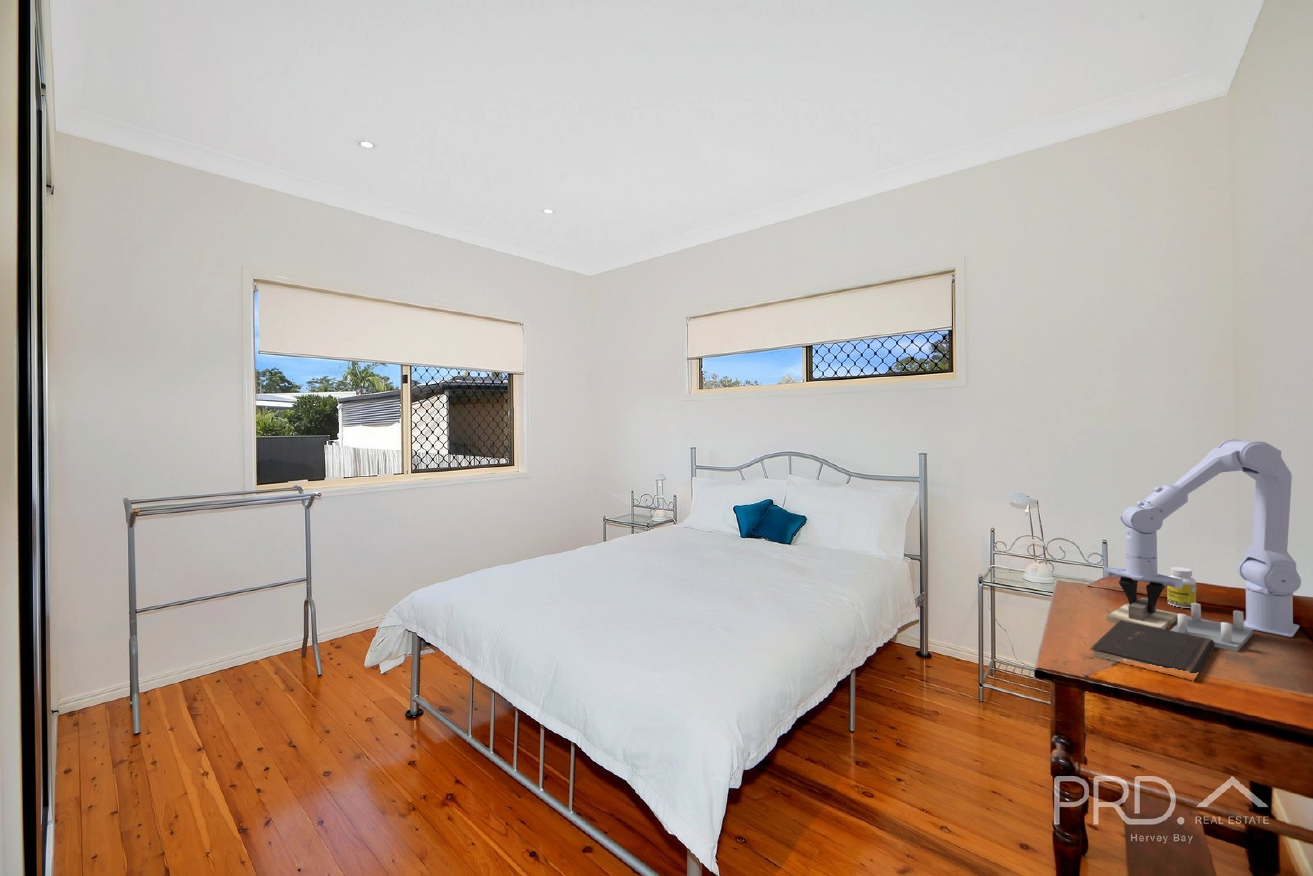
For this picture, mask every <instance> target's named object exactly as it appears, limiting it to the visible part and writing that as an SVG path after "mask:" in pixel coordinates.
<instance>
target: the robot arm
mask: <svg viewBox="0 0 1313 876" xmlns="http://www.w3.org/2000/svg"><path fill="white" fill-rule="evenodd" d="M1239 471H1242V472H1243V473H1244V474H1246V475H1247V476H1249V477H1250V478H1252V479H1253V480H1254V481H1255V490H1254V504H1253V505H1254V508H1253V520H1252V521H1253V522H1252V524H1253V525H1252V541H1251V543H1252V544H1251V546H1250V547H1249V548H1248V549H1247V550H1246V551H1244V557H1243V559H1242V561H1241V562H1240V564H1239V565H1238V573H1239V576H1240V577H1241V578H1242V579H1243V580H1244V581H1245V619H1244V628H1248V629H1253V631H1258V632H1263V633H1268V634H1273V635H1279V636H1284V637H1288V638H1292V637H1294V636H1295V634H1296V633H1297V632H1298V630H1299V628H1300V625H1299V624H1295V623H1294V622H1293V621H1294V619H1293V618H1294V615H1293V614H1294V613H1293V612H1294V609H1293V608H1294V607H1293V605H1294V604H1293V601H1294V600H1293V599H1294V593H1295V592H1297V591H1298V589H1300V587H1301V585H1302V578H1301V576H1300V574H1299V573H1298V570H1297V562H1296V561H1295V559H1293V557H1292V556H1291V555H1290V553H1289V552H1288V542H1289V528H1290V527H1289V526H1290V511H1291V497H1292V496H1291V495H1292V479H1293V476H1292V472H1291V470H1290V469H1289V467H1288V465H1287V464H1286V462H1285V461H1284V459H1283V458H1282V451H1281V450H1280V449H1278V448H1277V447H1275V446H1274V445H1272V444H1269V443H1268V442H1266V441H1261V440H1259V441H1252V440H1251V441H1250V440H1240V439H1228V440H1227V439H1226V440H1224V441H1223V442H1221V443H1220V444H1219V445H1218V446H1217V447H1214V448H1212V449H1211V450H1210V451H1209V452H1208V453H1207V455H1206V456H1205V457H1203V459H1202V460H1201V461H1199V462H1197V464H1196V465H1194V466H1193V467H1191V469H1189V470H1188V471H1187V472H1186V473H1185V474H1184V475H1183V476H1181V477H1180V478H1179V479H1178V480H1176V482H1175V483H1173V484H1163V485H1161V486H1158V485H1157V486H1155V487H1154V488H1153V489H1152V490H1153V492H1152V493H1151V494H1150V495H1147V497H1145V498H1144V499H1143V500H1142V501H1141V500H1138V501H1137V502H1136V504H1135V505H1134V506H1130V507H1127V508H1126V509H1125V510H1124V511H1123V512H1122V515H1121V516H1120V517H1119V518H1120V521H1121V523H1122V525H1123V526H1125V558H1126V559H1125V560H1126V563H1125V566H1126V568H1124V569H1123V568H1117V567H1108V566H1106V567H1104V568H1103V576H1104V577H1113V578H1119V581H1118V583H1119V586H1120V587H1121V589H1122V590H1123V592H1124V593H1125V596H1126V598H1127V600H1128V604H1130V605H1131V604H1132V603H1134V602H1136V601H1137V600H1138V582H1142V583H1147V584H1146V585H1145V588H1146V589H1145V590H1146V596H1147V598H1148V608H1147V609H1148V613H1151V614H1152V613H1153V612H1154V610H1155V605H1156V606H1157V603H1158V600H1159V598H1160V596H1161V594H1162V593H1163V592H1164V589H1165V588H1166V587H1167V586H1171V587H1175V588H1178V589H1181V588H1182V587H1183V579H1178V578H1173V577H1169V576H1170V575H1169V576H1168V575H1164V574H1160V573H1158V538H1157V536H1158V535H1157V531H1159V530H1161V528H1162V527H1163V523H1164V520H1166V519H1167V518H1168V517H1169V516H1170V515H1172V514H1174V513H1175V512H1176V511H1178V510H1179V509H1180V508H1181V507H1183V506H1184V505H1186V504H1187V503H1188V501H1189V494H1190V493H1192V492H1194V491H1195V490H1197V489H1198V488H1200V487H1202V485H1204V484H1206V483H1207V482H1209V481H1211V480H1212V479H1214V478H1215V477H1217V476H1218V475H1220V474H1222V473H1230V472H1231V473H1232V472H1239Z"/></svg>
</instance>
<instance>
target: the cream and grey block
mask: <svg viewBox="0 0 1313 876" xmlns="http://www.w3.org/2000/svg"><path fill="white" fill-rule="evenodd" d="M1147 608H1148V597H1144V596H1142V597H1140V598H1138V599H1137V601H1136V602H1134V603H1132V604H1131V605H1130V604H1129V602H1128V603H1125V604H1123V605H1122V606H1120V607H1119V608H1117V609H1115V610H1113V611H1112V612H1110V613H1109V614H1108V615H1106V622H1107V621H1109V622H1108V623H1111V622H1113V623H1112V624H1116V623H1118V622H1119V621H1120V620H1121V621H1126V622H1131V623H1136V624H1140V625H1145V626H1150V627H1155V628H1160V629H1166V628H1167V627H1168V628H1169V627H1171V626H1172V625H1173V624H1174V623H1176V622H1177V621H1178V620H1177V619H1178V614H1179V613H1177V612H1172V611H1166V610H1162V609H1157V604H1156V605H1155V610H1154V612H1153V613H1152V614H1151V613H1148V609H1147ZM1176 620H1177V621H1176ZM1175 621H1176V622H1175ZM1172 623H1173V624H1172ZM1171 624H1172V625H1171ZM1170 625H1171V626H1170ZM1168 628H1167V629H1168ZM1167 629H1166V630H1167Z"/></svg>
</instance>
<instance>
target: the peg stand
mask: <svg viewBox="0 0 1313 876" xmlns="http://www.w3.org/2000/svg"><path fill="white" fill-rule="evenodd" d="M1201 605H1202V604H1201V603H1197V602H1196V603H1191V609H1190V610H1191V611H1190V612H1191V616H1189V615H1187V614H1185V613H1177V614H1178V620H1177V624H1176V625H1174V626H1173V627H1172V628H1171V629H1169V630H1170V631H1175V632H1180V633H1185V634H1189V635H1194V636H1199V637H1204V638H1209V639H1212V640H1213V641H1214V644H1215V646H1214V648H1220V649H1223V650H1227V651H1232V652H1239V651H1240V649H1241V648H1242V647H1244V645H1245V644H1246V643H1247V642H1248V641H1249V639H1250V638H1251V637H1252V636H1253V635H1254V630H1253V629H1248V628H1244V621H1245V619H1244V612H1243V611H1240V610H1233V611H1232V615H1233V616H1232V617H1233V618H1232V621H1233V624H1232V623H1230V622H1224V621H1222V622H1218V621H1212V620H1209V619H1208V620H1207V619H1204V618H1203V619H1202V609H1201V608H1202V606H1201Z"/></svg>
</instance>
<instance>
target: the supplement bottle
mask: <svg viewBox="0 0 1313 876" xmlns="http://www.w3.org/2000/svg"><path fill="white" fill-rule="evenodd" d="M1170 573H1171V575H1169V577H1173V578H1178V579H1183V587H1182V588H1181V589H1178V588H1175V587H1171V586H1166V588H1167V592H1166V593H1167V604H1168V605H1169V604H1170V605H1169V606H1171V605H1173V606H1172V607H1174V606H1176V607H1175V608H1177V607H1181V608H1180V609H1183V608H1190V609H1189V610H1191V603H1197V581H1196V579H1195V578H1193V570H1192V569H1191V568H1187V567H1182V566H1181V567H1179V566H1172V567H1171V568H1170Z"/></svg>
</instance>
